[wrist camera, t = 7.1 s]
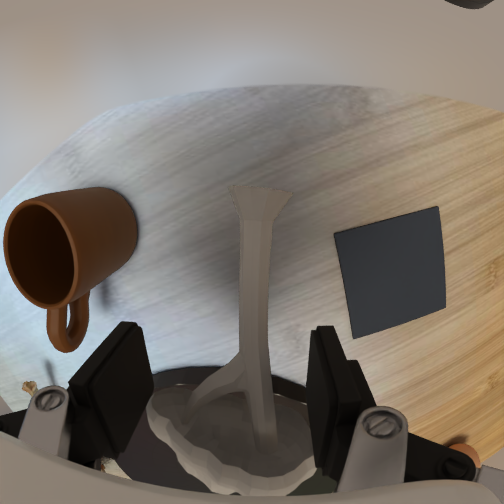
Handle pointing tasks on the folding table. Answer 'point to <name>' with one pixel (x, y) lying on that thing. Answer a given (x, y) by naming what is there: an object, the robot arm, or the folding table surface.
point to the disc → (165, 459)
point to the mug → (67, 253)
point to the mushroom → (240, 386)
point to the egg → (467, 452)
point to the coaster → (393, 270)
